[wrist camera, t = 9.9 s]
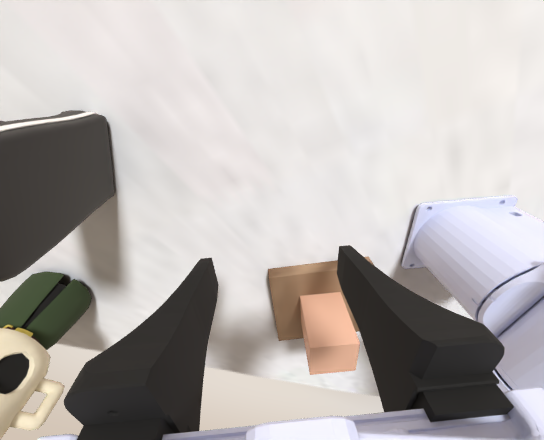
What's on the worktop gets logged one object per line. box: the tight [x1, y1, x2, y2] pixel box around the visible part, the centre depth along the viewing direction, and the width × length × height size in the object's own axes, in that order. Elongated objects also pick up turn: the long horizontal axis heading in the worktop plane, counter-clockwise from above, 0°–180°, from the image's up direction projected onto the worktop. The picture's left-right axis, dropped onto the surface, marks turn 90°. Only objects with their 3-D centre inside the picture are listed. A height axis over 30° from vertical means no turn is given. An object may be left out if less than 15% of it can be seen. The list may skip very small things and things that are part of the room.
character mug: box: [0, 272, 92, 439], centre depth 20 cm, size 11×7×13 cm, turn 50°
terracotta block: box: [300, 292, 360, 375], centre depth 25 cm, size 4×4×6 cm
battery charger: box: [0, 111, 114, 281], centre depth 14 cm, size 7×4×11 cm, turn 167°
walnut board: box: [268, 257, 373, 341], centre depth 29 cm, size 11×11×2 cm
